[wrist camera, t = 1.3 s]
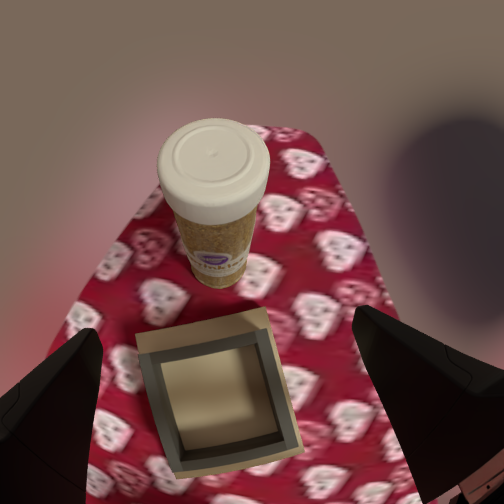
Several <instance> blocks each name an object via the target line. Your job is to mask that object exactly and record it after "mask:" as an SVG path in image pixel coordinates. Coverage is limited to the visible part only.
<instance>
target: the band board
mask: <svg viewBox="0 0 504 504" xmlns="http://www.w3.org/2000/svg"><path fill="white" fill-rule="evenodd" d="M135 337H136V342H137V347H138V352H139V354H138V358H139V362H140V367H141V371H142V375H143V380H144V384H145V388H146V392H147V395H148V399H149V403H150V406H151V410H152V414H153V417H154V420H155V424H156V427H157V430H158V433H159V436H160V439H161V442H162V445H163V448H164V451H165V454H166V457H167V460H168V462H169V465H170V468H171V470H172V473H174V475H175V477H176V479H183V478H192V477H200V476H207V475H214V474H220V473H226V472H231V471H236V470H241V469H246V468H250V467H254V466H259V465H263V464H267V463H270V462H274V461H278V460H281V459H285V458H288V457H291V456H294V455H298V454H301V453H304V452H305V451H304V447H303V444H302V440H301V436H300V432H299V429H298V425H297V421H296V418H295V414H294V410H293V407H292V403H291V399H290V396H289V392H288V388H287V384H286V381H285V377H284V373H283V370H282V366H281V362H280V359H279V355H278V351H277V348H276V344H275V340H274V336H273V333H272V329H271V325H270V322H269V318H268V314H267V310H266V307H261V308H257V309H253V310H249V311H244V312H240V313H236V314H231V315H227V316H223V317H218V318H214V319H209V320H204V321H200V322H195V323H190V324H185V325H180V326H175V327H170V328H165V329H159V330H154V331H148V332H143V333H137V334H135Z"/></svg>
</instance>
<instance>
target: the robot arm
mask: <svg viewBox="0 0 504 504" xmlns="http://www.w3.org/2000/svg"><path fill="white" fill-rule="evenodd" d="M352 331H353V334H354V337H355V340H356V342H357V345H358V348H359V351H360V354H361V357H362V360H363V363H364V365H365V367H366V370H367V372H368V374H369V376H370V378H371V380H372V383H373V385H374V387H375V389H376V391H377V393H378V396H379V398H380V400H381V402H382V404H383V407H384V409H385V411H386V413H387V416H388V418H389V420H390V423H391V425H392V427H393V430H394V432H395V434H396V437H397V439H398V441H399V444H400V446H401V449H402V451H403V454H404V456H405V459H406V461H407V464H408V466H409V469H410V472H411V474H412V477H413V479H414V482H415V485H416V487H417V490H418V493H419V495H420V498H421V501H422V503H423V504H427V503H429V502H430V501H432V500H434V499H436V498H437V497H439V496H441V495H442V494H444V493H445V492H447V491H448V490H450V489H452V488H453V487H455V486H456V485H458V486H459V488H460V490H461V493H459V494H458V495H456V496H455V497H453V498H452V499H450V502H449V504H504V370H502V369H499V368H497V367H494V366H492V365H490V364H487V363H485V362H482V361H480V360H477V359H475V358H473V357H470V356H468V355H466V354H463V353H461V352H459V351H457V350H455V349H453V348H451V347H449V346H447V345H444V344H443V343H442V342H439V341H438V340H436V339H434V338H432V337H430V336H428V335H426V334H424V333H422V332H420V331H418V330H416V329H414V328H412V327H410V326H408V325H406V324H404V323H402V322H400V321H398V320H397V319H395V318H393V317H391V316H389V315H387V314H385V313H383V312H381V311H379V310H377V309H375V308H373V307H371V306H369V305H362V306H358V307H357V308H356V309H355V313H354V318H353V322H352ZM102 358H103V346H102V344H101V341H100V339H99V337H98V334H97V332H96V330H95V329H94V328H83V329H82V330H81V331H79V332H78V333H77V334H76V335H74V336H73V337H72V338H71V339H70V340H68V341H67V342H66V343H65V344H63V345H62V346H61V347H60V348H58V349H57V350H56V351H55V352H54V353H52V354H51V355H50V356H49V357H48V358H46V359H45V360H44V361H43V362H42V363H40V364H39V365H38V366H37V367H36V368H34V369H33V370H32V371H31V372H30V373H29V374H27V375H26V376H25V377H24V378H23V379H22V380H21V381H20V383H17V384H16V385H15V386H14V387H13V388H11V389H10V390H9V391H8V392H7V393H6V394H4V395H3V396H2V397H1V398H0V504H86V482H87V469H88V459H89V450H90V442H91V435H92V428H93V421H94V415H95V409H96V404H97V398H98V393H99V386H100V377H101V367H102Z"/></svg>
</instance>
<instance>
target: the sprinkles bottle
mask: <svg viewBox="0 0 504 504" xmlns="http://www.w3.org/2000/svg"><path fill="white" fill-rule="evenodd" d="M269 168H270V157H269V152H268V149H267V146H266V144H265V143H264V141H263V140H262V138H261V137H260V136H259V135H258V134H257V133H256V132H255V131H254V130H252V129H251V128H249V127H248V126H246V125H244V124H241V123H239V122H236V121H233V120H228V119H221V118H209V119H202V120H198V121H194V122H191V123H189V124H187V125H185V126H183V127H181V128H179V129H178V130H176V131H175V132H174V133H173V134H171V135H170V136H169V137H168V139H167V140H166V141H165V142H164V144H163V145H162V147H161V149H160V151H159V155H158V159H157V173H158V177H159V181H160V185H161V188H162V191H163V194H164V197H165V199H166V201H167V203H168V204H169V206H170V207H171V208H172V209H173V212H174V216H175V219H176V222H177V225H178V228H179V232H180V234H181V240H182V243H183V246H184V249H185V252H186V254H187V257H188V259H189V261H190V263H191V269H192V272H193V273H194V275H195V277H196V278H197V279H198V280H199V281H200V282H201V283H202V284H204V285H206V286H209V287H212V288H218V289H221V288H226V287H229V286H231V285H233V284H235V283H236V282H237V281H239V279H240V278H241V277H242V275H243V274H244V271H245V269H246V263H247V257H248V253H249V248H250V244H251V239H252V235H253V230H254V226H255V220H256V210H257V205H258V203H259V201H260V200H261V199H262V197H263V194H264V191H265V188H266V183H267V179H268V174H269Z"/></svg>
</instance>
